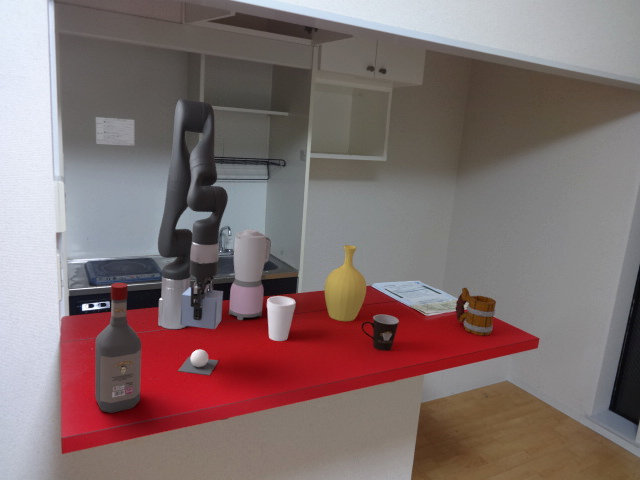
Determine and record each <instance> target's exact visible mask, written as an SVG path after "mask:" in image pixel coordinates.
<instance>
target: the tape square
mask: <svg viewBox="0 0 640 480" xmlns="http://www.w3.org/2000/svg"><path fill="white" fill-rule="evenodd" d="M190 358H191V356H188V357H187V358H186V359H185V361H184V362H183V364H182V365H181V367H179V368H178V370H177V372H180V373H187V374H188V373H190V374H195V375H205V376H211V374H212V372H213V371H214V370H215V368H216V365H217V364H218V362H219V360H217V359H209V358H208V362H207V363H206V365H204V366H203V367H195V366H194V365H193V364H192V363H191V360H190Z"/></svg>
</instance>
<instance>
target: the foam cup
mask: <svg viewBox="0 0 640 480" xmlns="http://www.w3.org/2000/svg"><path fill="white" fill-rule="evenodd" d="M266 308H267V324H268V337H269V339H270V340H272V341H277V342H284V341H287V339H288V337H289V334H290V329H291V326H292V325H291V324H292V320H293V317H294V312H295V310H296V301H295V299H294V298H292V297H288V296H284V295H283V296H281V295H277V296H274V295H273V296H270V297H269V298H267V301H266Z"/></svg>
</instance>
